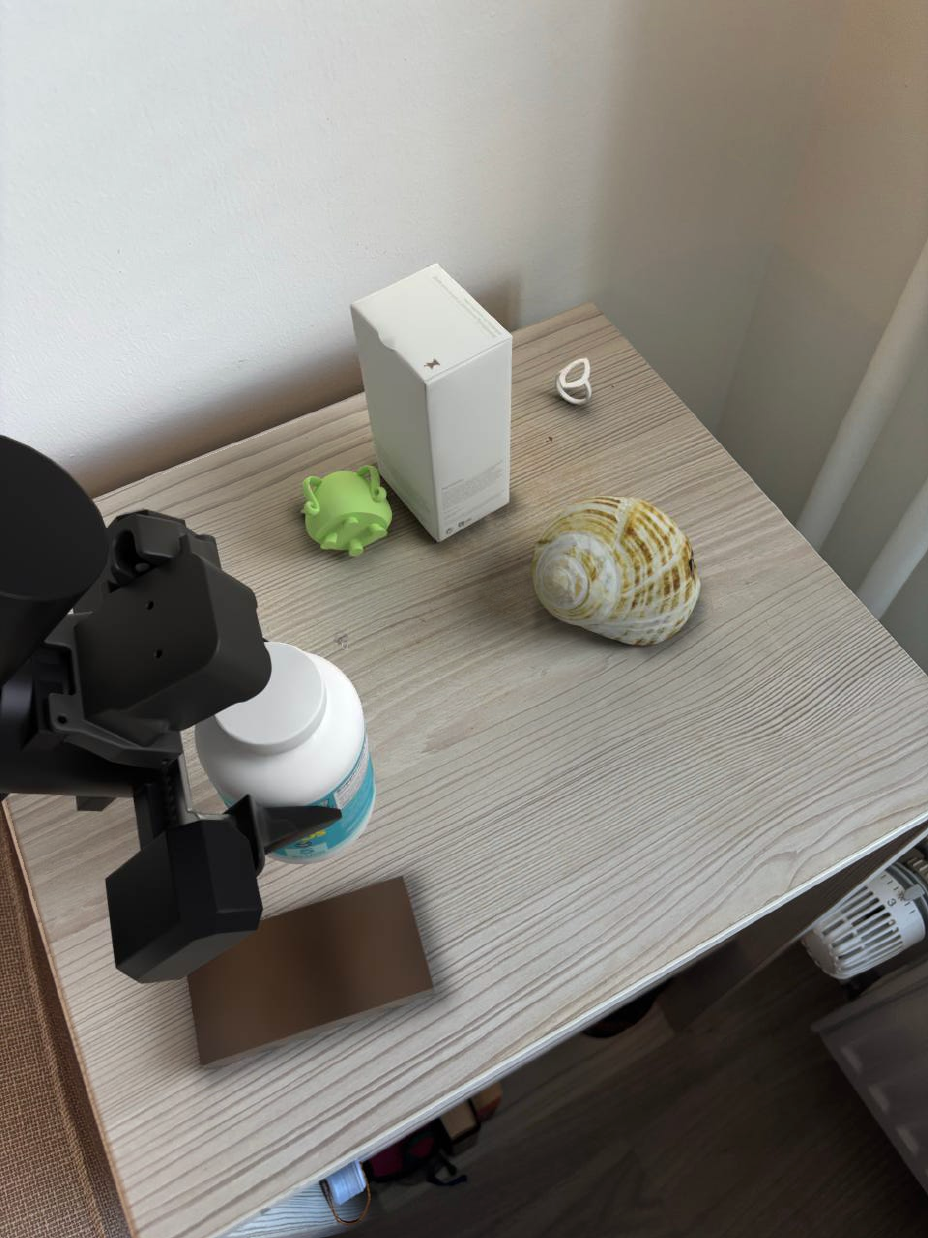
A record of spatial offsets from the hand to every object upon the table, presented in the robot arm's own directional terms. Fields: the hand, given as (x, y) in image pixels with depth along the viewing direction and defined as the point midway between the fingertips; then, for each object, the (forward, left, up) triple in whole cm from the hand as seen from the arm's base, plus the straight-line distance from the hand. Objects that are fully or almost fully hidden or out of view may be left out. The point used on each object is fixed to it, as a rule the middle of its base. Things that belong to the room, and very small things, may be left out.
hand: (317, 743), depth 43 cm
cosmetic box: (+12, +22, -12) cm, 28 cm away
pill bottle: (-1, 0, -7) cm, 7 cm away
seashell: (+20, +10, -12) cm, 26 cm away
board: (-4, -8, -12) cm, 15 cm away
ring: (+24, +27, -12) cm, 38 cm away
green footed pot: (+5, +20, -12) cm, 24 cm away
